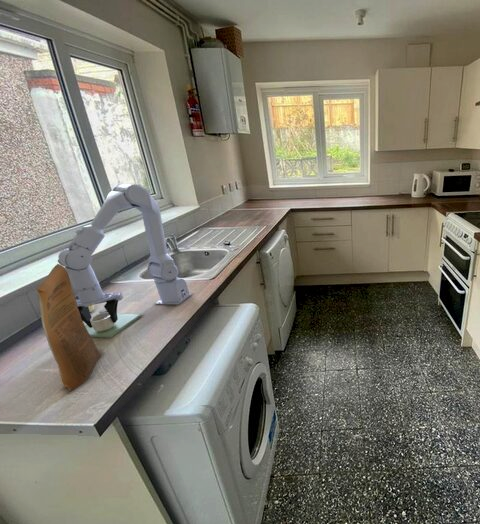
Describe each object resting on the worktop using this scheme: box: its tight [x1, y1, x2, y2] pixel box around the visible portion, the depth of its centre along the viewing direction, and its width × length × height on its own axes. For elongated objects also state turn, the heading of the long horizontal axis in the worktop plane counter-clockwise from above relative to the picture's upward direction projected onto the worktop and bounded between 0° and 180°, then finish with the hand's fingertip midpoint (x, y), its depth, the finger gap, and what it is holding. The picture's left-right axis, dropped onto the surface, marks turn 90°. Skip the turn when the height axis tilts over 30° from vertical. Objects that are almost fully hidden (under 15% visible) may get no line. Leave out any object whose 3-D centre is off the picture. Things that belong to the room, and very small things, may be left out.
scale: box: [84, 312, 142, 338], centre depth 96 cm, size 14×12×2 cm
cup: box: [90, 312, 116, 332], centre depth 93 cm, size 6×6×4 cm
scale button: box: [98, 308, 108, 314], centre depth 99 cm, size 3×3×2 cm
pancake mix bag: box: [35, 263, 102, 392], centre depth 72 cm, size 7×19×28 cm, turn 25°
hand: (103, 323), depth 93 cm, fingers closed on cup, 6 cm apart
